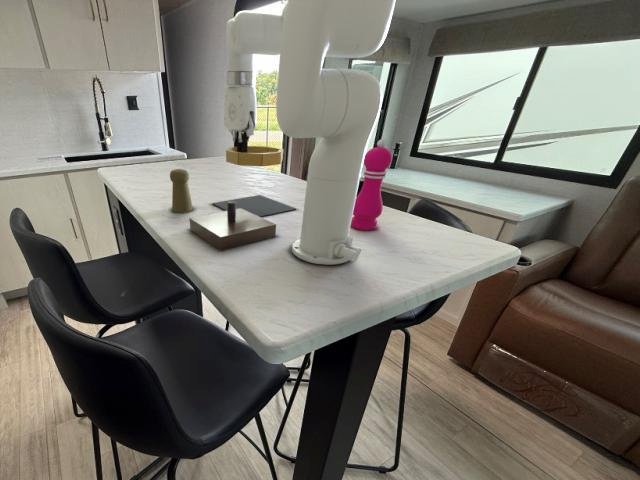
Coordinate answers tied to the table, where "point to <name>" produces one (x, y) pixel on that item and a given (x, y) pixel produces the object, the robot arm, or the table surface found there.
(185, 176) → the olive game pawn
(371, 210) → the pepper mill
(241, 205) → the mat
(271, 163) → the brass hoop
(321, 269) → the table surface
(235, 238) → the peg stand
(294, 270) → the table surface
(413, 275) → the table surface
